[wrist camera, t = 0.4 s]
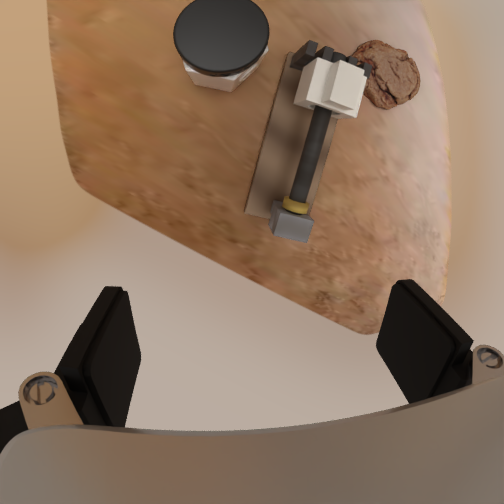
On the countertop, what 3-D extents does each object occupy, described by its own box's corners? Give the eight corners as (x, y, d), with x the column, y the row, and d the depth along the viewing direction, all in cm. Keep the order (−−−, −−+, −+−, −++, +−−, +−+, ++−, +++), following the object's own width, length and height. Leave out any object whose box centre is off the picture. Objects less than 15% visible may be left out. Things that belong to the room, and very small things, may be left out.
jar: (219, 106, 34) (217, 95, 23) (171, 64, 31) (149, 38, 20) (271, 58, 32) (293, 29, 21) (224, 17, 29) (226, -25, 18)
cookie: (421, 102, 35) (433, 102, 32) (361, 114, 36) (371, 114, 33) (402, 38, 31) (413, 34, 28) (338, 45, 32) (347, 40, 29)
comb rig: (287, 53, 32) (307, 33, 23) (346, 74, 33) (380, 63, 25) (244, 210, 39) (250, 235, 30) (302, 224, 40) (324, 251, 32)
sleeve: (303, 67, 28) (326, 51, 21) (346, 82, 29) (378, 74, 22) (293, 103, 30) (313, 97, 23) (337, 118, 31) (367, 117, 24)
